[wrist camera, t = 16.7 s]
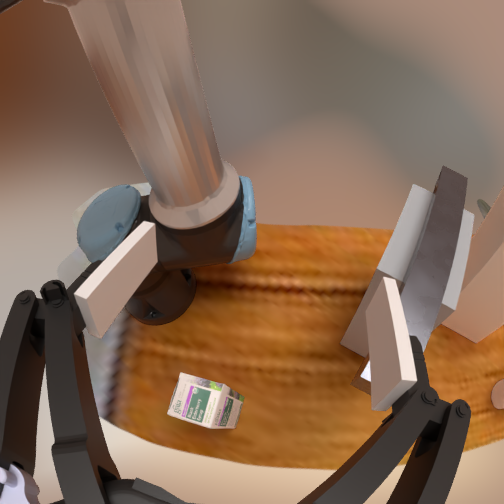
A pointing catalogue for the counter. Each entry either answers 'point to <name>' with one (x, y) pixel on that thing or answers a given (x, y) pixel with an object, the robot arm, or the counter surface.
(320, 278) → the counter surface
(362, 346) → the tall grey pillar block
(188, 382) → the syrup box
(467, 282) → the cabinet block
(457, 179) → the handle rail
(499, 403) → the white cup
